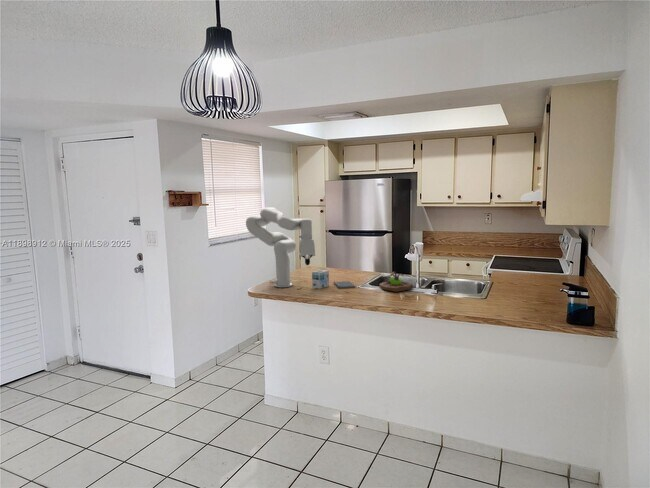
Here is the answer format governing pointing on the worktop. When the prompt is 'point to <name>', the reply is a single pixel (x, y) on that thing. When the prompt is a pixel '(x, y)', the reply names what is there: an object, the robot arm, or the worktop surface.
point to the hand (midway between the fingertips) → (307, 264)
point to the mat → (344, 284)
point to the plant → (395, 284)
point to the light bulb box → (320, 279)
